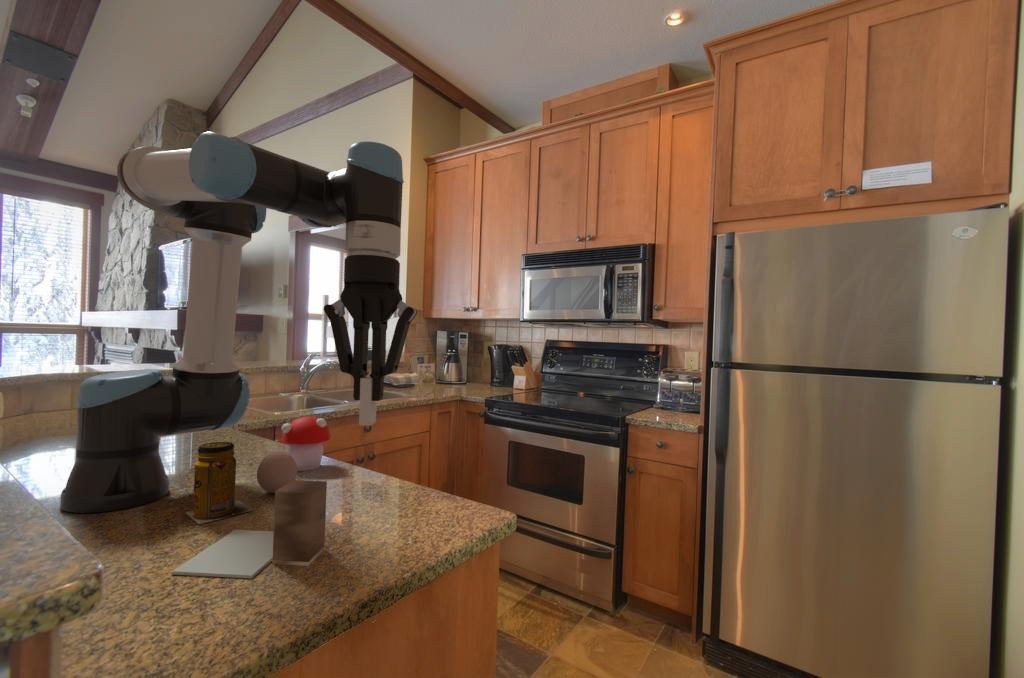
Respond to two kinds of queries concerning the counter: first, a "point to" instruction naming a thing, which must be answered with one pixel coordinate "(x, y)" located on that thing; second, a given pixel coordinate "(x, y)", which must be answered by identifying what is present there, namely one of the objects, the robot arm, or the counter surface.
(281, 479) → the egg
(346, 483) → the counter surface
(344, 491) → the counter surface
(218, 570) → the mat
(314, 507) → the block
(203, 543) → the counter surface
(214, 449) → the condiment
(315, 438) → the mushroom
